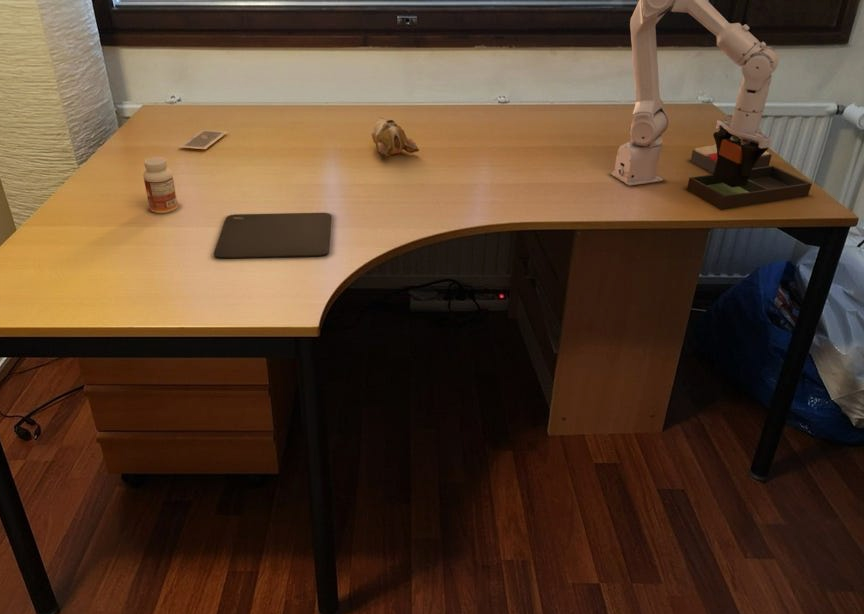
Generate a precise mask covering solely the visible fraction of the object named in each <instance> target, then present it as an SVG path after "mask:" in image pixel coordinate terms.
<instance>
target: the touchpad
mask: <svg viewBox="0 0 864 614" xmlns="http://www.w3.org/2000/svg"><path fill="white" fill-rule="evenodd" d="M228 132H229V130H218V129H217V130H216V129H204V128H203V129H201V130H200V131H198V132H197V133H195V134H194V135H193V136H191V137H190V138H189V139H187V140H186V141H184V142H183V143H182V144H180V145H179V146H178V148H184V149H185V148H187V149H199V150H207V149H208V148H210V146H212V145H213V144H214V143H216V142H217V141H218V140H219V139H221V138H222V137H224V136H225V135H226V134H228Z"/></svg>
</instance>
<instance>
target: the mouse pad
mask: <svg viewBox="0 0 864 614" xmlns="http://www.w3.org/2000/svg"><path fill="white" fill-rule="evenodd" d="M331 226H332V215H331V214H330V213H328V212H291V213H289V212H288V213H287V212H286V213H245V214H244V213H241V214H240V213H239V214H237V213H236V214H230V215H227V216H226V217H225V220H224V223H223V225H222V229H221V231H220V234H219V237H218V240H217V243H216V246H215V248H214V251H213V256H214V258H218V259H249V258H251V259H252V258H254V259H255V258H256V259H257V258H295V257H296V258H297V257H298V258H299V257H325V256H327V255H328V254H329V253H330V246H331V245H330V244H331V229H332V227H331Z"/></svg>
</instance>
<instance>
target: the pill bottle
mask: <svg viewBox="0 0 864 614" xmlns="http://www.w3.org/2000/svg"><path fill="white" fill-rule="evenodd" d="M143 164H144V168H145V171H144V172H143V181H144V186H145V191H146V197H147V202H148V207H149V210H150V211H151V212H153V213H156V214H167V213H170V212H173V211H175V210H176V209H177V208H178V199H177V193H176V187H175V186H176V185H175V181H174V175H173V172H172V170H171V169H170V168H168V160H167V159H166V158H165V157H161V156H155V157H154V156H153V157H150V158H147V159H145V160H144V162H143Z"/></svg>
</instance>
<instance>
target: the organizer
mask: <svg viewBox="0 0 864 614" xmlns="http://www.w3.org/2000/svg"><path fill="white" fill-rule="evenodd" d="M812 185H813V183H812V182H809V181H808V180H805V179H803V178H801V177H800V176H796V175H794V174H793V173H791V172H788V171H786V170H784V169H781V168H780V167H777V166H775V165H769V166H766V167H759V168H752V170H751V172H750V176H749V179H748V183H747V185H745V186H738V187H730V186H728V185H726V184H724V183H722V182H720V181H719V180H717V179H715V178H713V173H711V174H705V175H697V176H691V177H688V182H687V186H686V191H688V192H690V193H692V194H693V195H695V196H697V197H699V198H701V199H702V200H704V201H706V202H708V203H709V204H711V205H713V206H714V207H716V208H718V209H719V210H721V211H722V210H727V209H734V208H740V207H746V206H753V205H760V204H766V203H772V202H778V201H784V200H791V199H792V200H793V199H797V198H803V197H809V194H810V191H811V188H812Z"/></svg>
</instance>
